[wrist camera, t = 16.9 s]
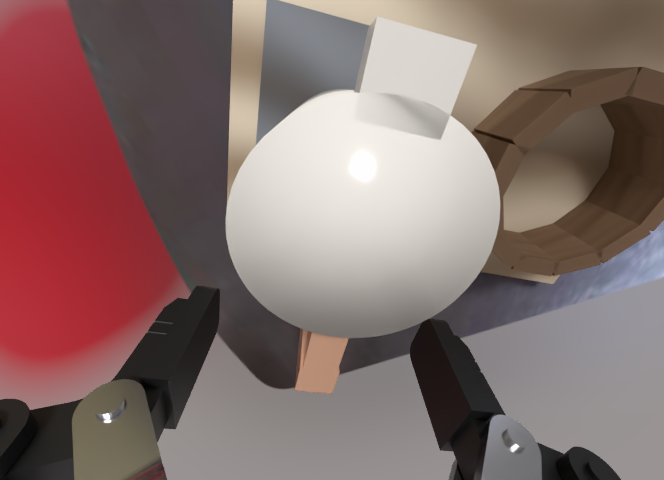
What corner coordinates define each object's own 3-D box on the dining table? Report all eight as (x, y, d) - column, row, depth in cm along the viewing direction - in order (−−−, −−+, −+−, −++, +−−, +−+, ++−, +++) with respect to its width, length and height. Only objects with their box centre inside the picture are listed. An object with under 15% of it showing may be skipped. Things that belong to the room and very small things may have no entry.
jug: (293, 50, 13) (233, -25, 4) (421, 83, 14) (592, 77, 5) (269, 247, 18) (219, 397, 9) (363, 262, 19) (399, 413, 10)
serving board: (247, -167, 11) (200, -322, 7) (735, 3, 14) (909, -31, 10) (231, 221, 19) (206, 259, 15) (542, 274, 22) (592, 318, 18)
